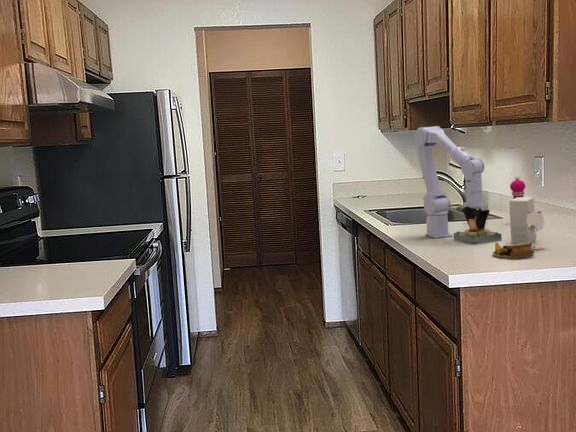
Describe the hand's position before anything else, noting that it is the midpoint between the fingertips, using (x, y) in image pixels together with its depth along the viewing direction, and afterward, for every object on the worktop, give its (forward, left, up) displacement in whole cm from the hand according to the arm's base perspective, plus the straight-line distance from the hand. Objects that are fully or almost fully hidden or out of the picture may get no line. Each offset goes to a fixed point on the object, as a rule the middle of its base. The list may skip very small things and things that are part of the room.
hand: (476, 227), depth 224 cm
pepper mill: (-24, +32, -5) cm, 40 cm away
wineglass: (+27, +7, -5) cm, 28 cm away
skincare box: (+15, +10, -5) cm, 19 cm away
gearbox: (-1, 0, -5) cm, 5 cm away
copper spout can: (0, 0, -2) cm, 2 cm away
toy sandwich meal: (+33, -4, -5) cm, 34 cm away
